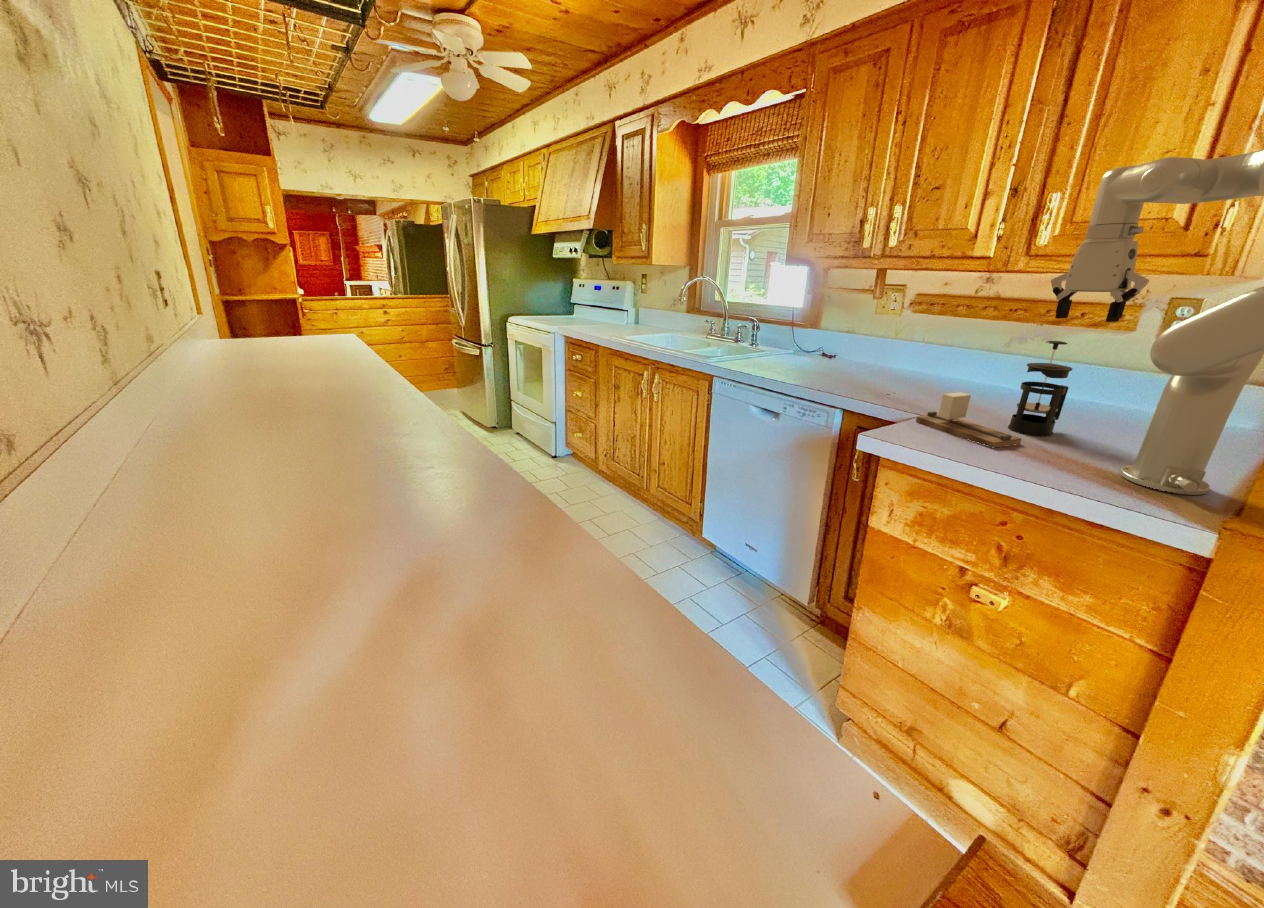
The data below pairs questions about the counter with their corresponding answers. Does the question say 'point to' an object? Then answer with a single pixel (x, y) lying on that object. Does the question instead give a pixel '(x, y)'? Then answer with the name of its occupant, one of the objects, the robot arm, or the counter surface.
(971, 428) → the fader board
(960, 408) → the fader cap
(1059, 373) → the french press
